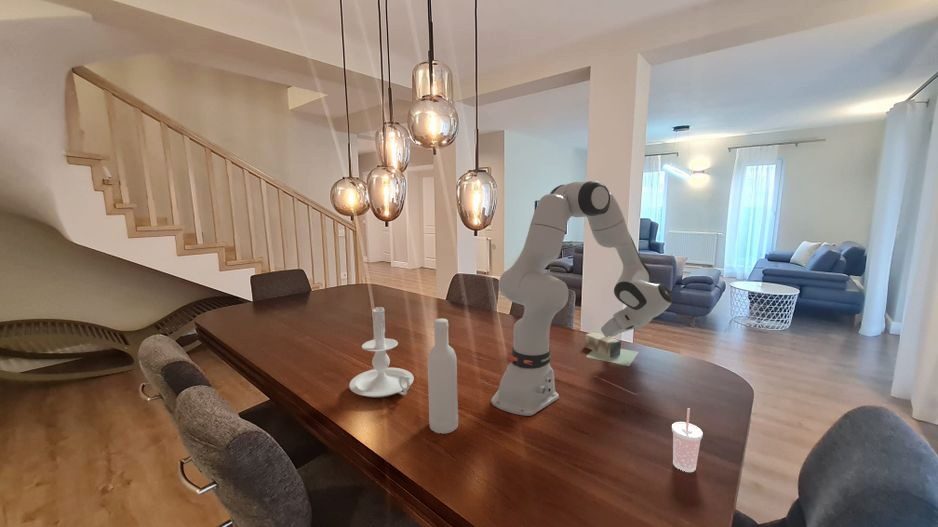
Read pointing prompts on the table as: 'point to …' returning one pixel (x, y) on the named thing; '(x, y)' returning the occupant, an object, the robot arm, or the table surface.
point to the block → (602, 344)
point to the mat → (615, 357)
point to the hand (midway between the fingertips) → (611, 334)
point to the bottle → (442, 382)
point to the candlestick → (381, 366)
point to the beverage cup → (686, 444)
